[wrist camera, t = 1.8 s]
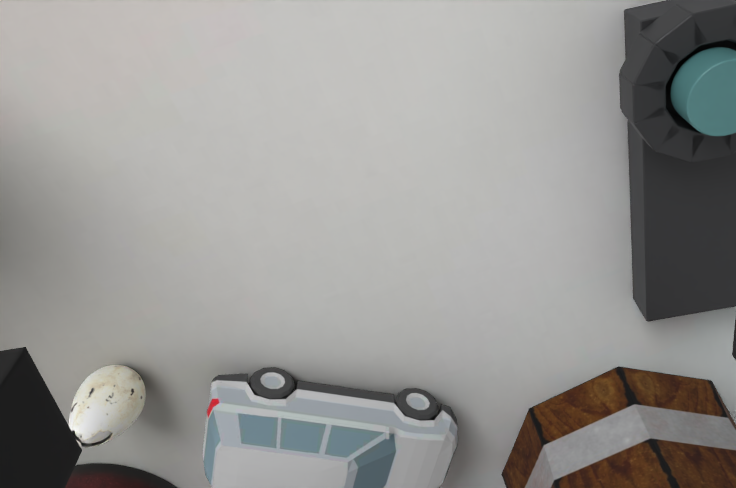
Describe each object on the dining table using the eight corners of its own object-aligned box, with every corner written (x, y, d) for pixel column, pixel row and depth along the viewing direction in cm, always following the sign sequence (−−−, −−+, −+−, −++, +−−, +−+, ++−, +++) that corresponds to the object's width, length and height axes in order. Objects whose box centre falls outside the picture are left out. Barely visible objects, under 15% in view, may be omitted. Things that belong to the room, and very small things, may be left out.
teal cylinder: (670, 55, 25) (687, 68, 24) (750, 39, 25) (773, 50, 24) (669, 128, 27) (686, 144, 25) (746, 113, 26) (767, 128, 25)
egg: (118, 405, 38) (87, 480, 33) (77, 365, 36) (39, 437, 32) (165, 382, 37) (139, 455, 32) (125, 340, 35) (93, 411, 31)
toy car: (436, 465, 40) (445, 541, 36) (208, 434, 39) (189, 510, 34) (462, 389, 37) (475, 462, 33) (218, 353, 36) (198, 424, 31)
